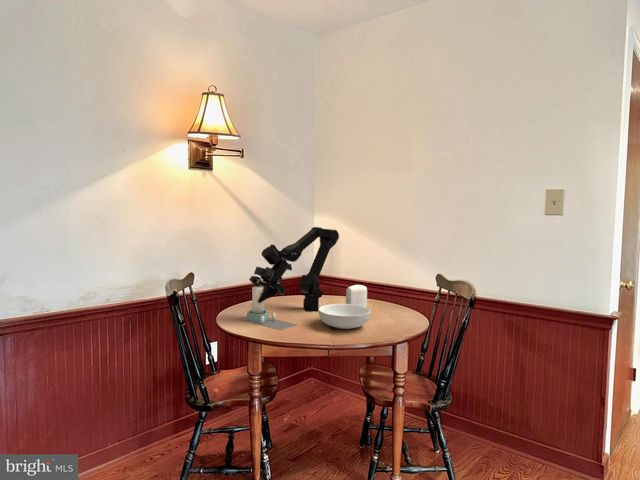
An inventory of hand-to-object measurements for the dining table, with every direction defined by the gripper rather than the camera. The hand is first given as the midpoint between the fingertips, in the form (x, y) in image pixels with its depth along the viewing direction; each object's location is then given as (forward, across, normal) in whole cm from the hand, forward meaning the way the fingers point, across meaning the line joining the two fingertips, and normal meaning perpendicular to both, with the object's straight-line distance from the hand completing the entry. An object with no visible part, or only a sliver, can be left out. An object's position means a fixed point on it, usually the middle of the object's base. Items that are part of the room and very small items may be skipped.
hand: (255, 301), depth 181 cm
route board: (+4, +6, +8) cm, 11 cm away
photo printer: (-25, +16, +37) cm, 48 cm away
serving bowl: (-11, +28, +23) cm, 38 cm away
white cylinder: (+4, 0, +6) cm, 7 cm away
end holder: (+5, 0, +6) cm, 8 cm away
